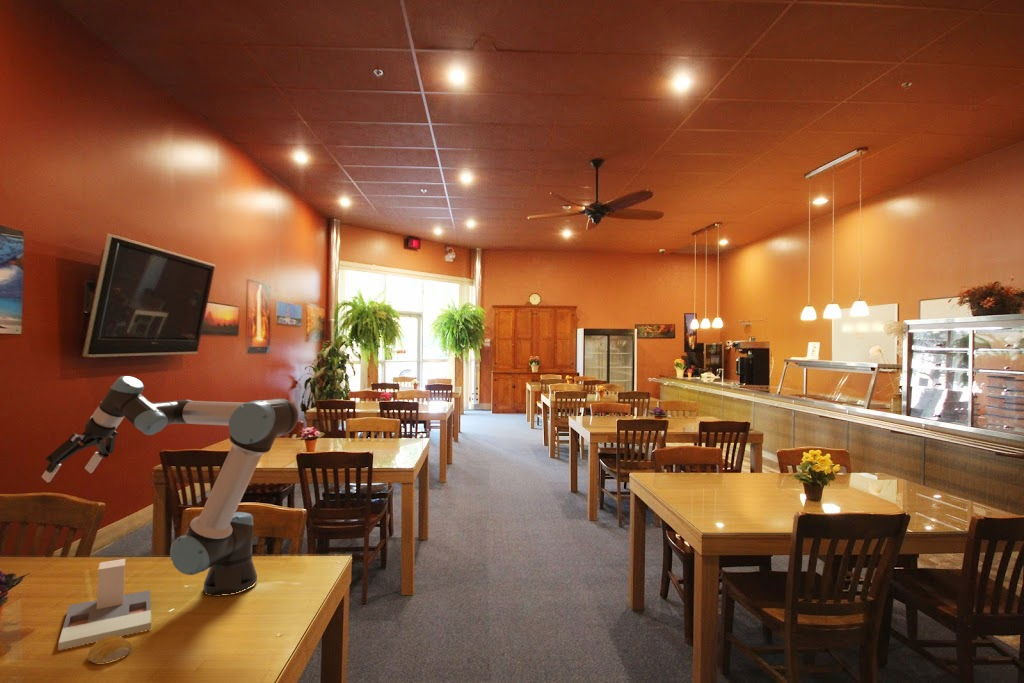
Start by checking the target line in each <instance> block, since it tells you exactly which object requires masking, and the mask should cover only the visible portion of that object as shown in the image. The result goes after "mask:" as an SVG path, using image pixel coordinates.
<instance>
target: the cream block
mask: <svg viewBox="0 0 1024 683" xmlns="http://www.w3.org/2000/svg"><path fill="white" fill-rule="evenodd" d="M97 570H98V572H97V573H98V574H97V577H98V578H97V592H96V593H97V595H96V600H97V609H100V608H105V607H110V606H116V605H121V604H123V598H124V595H125V574H126V573H125V572H126V558H121V559H116V560H115V559H114V560H109V561H102V562H99V565H98V569H97Z"/></svg>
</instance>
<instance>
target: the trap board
mask: <svg viewBox="0 0 1024 683" xmlns="http://www.w3.org/2000/svg"><path fill="white" fill-rule="evenodd" d="M151 604H152V602H151V590H150V589H149V590H143V591H138V592H133V593H127V594H124V598H123V604H121V605H116V606H110V607H105V608H100V609H97V599H96V600H90V601H86V602H85V601H84V602H81V603H74V604H69V605H68V608H67V613H66V615H65V616H66V617H65V620H64V622H63V626H62V629H63V628H67V627H72V626H76V625H81V624H86V623H91V622H96V621H100V620H105V619H110V618H115V617H120V616H125V615H129V614H134V613H139V612H144V611H149V610H151V611H152V605H151Z"/></svg>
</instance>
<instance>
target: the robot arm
mask: <svg viewBox="0 0 1024 683" xmlns="http://www.w3.org/2000/svg"><path fill="white" fill-rule="evenodd" d="M144 388H145V385H144V383H143V382H142V381H141V380H140V379H138V378H136V377H134V376H130V375H129V376H128V375H126V376H125V375H123V376H120V377H118V378H117V379H116V380H115V382H114V383H113V385H110V388H109V389H108V391H107V392H106V394H105V395H104V398H103V399H102V400H101V401H100V404H99V405H98V406H97V407H96V409H95V411H94V412H93V413H92V415H91V416H90V417H89V419H88V420H87V422H85V424H84V431H83V432H82V433H81V434H77V433H72V434H71V435H70V436H69V438H68V439H67V440H66V441H64V442H63V443H62V444H61V445H60V446H58V447H57V448H56V449H55V450H54V451H52V452H51V453H50V454H49V455H48V456H46V457H45V460H46V461H47V462H48V463H49V464H48V465H47V467H46V468H45V471H44V473H43V474H42V475H41V478H42V479H43V480H44V481H45V482H46V483H50V482H51V481H52V480H53V478H54V477H55V476H56V473H58V471H59V469H60V468H61V467H62V463H63V462H64V461H66V460H68V459H69V458H70V457H72V456H73V455H75V454H77V452H79V451H83V450H85V449H86V448H89V447H96V448H97V451H95V452H94V454H93V455H92V456H91V458H90V459H89V460H88V462H87V464H86V465H85V467H84V470H86V471H87V472H88V473H89V474H92V473H93V472H94V471H95V469H96V468H97V467H98V465H99V464H100V463H101V462H102V460H103V458H108V457H109V456H110V454H113V453H114V450H115V444H116V443H115V442H116V438H117V436H118V434H119V432H117V431H116V429H117V428H118V426H119V425H120V424H121V423H122V421H123V420H124V418H126V419H127V420H128V421H129V422H130V423H131V424H132V425H133V426H134V427H135V429H137V430H139V431H140V432H142V433H143V434H144V435H147V436H152V435H155V434H156V433H159V432H162V430H163V429H165V427H166V426H169V425H173V424H182V425H183V424H184V425H186V424H187V425H188V424H189V425H190V424H193V425H208V426H209V425H210V426H211V425H212V426H228V428H229V434H230V435H229V437H228V439H229V441H230V443H231V447H230V449H229V451H228V453H227V455H226V458H225V460H224V462H223V464H222V466H221V469H220V471H219V473H218V475H217V477H216V480H215V482H214V484H213V486H212V489H211V490H210V494H209V495H208V498H206V499H207V500H206V502H205V504H204V507H203V508H202V510H201V513H200V515H197V516H196V517H194V518H193V519H192V520H191V521H190V523H189V525H188V527H187V529H186V532H185V534H183V535H180V536H178V537H177V538H176V539H175V540H174V541H173V542H172V543H171V546H170V550H169V554H170V555H169V557H170V560H171V561H172V564H173V566H174V568H175V569H176V570H177V571H179V572H180V573H182V574H183V575H187V576H193V575H194V576H195V575H197V574H200V573H202V572H205V571H206V570H208V572H207V574H206V576H205V579H204V582H203V592H205V593H204V594H206V593H207V594H206V595H208V594H211V595H222V594H231V593H236V592H239V591H242V590H244V589H247V588H248V587H250V586H252V585H253V584H254V583H255V582H256V581H257V582H258V573H257V570H256V568H255V565H254V561H253V540H254V539H253V538H254V537H253V536H254V526H255V525H254V517H253V514H252V513H249V512H244V511H237V509H238V507H239V505H240V504H241V501H242V499H243V497H244V494H245V492H246V491H247V488H248V486H249V483H250V482H251V479H252V478H253V475H254V473H255V471H256V469H257V466H258V464H259V463H260V459H261V458H262V455H264V454H267V453H269V452H270V451H271V448H272V446H273V445H274V443H275V440H276V438H278V437H282V436H285V435H287V434H290V433H291V432H292V431H293V430H294V429H295V428H296V427H297V424H298V421H299V411H298V409H297V406H295V404H294V402H292V401H290V400H288V399H286V398H272V399H264V400H258V399H257V400H256V399H255V400H251V401H248V402H243V401H242V402H238V401H237V402H236V401H205V400H191V399H178V400H170V401H155V402H151V401H150V400H149V399H147V397H145V396H144V395H143V394H142V393H143V392H144V390H145V389H144ZM80 443H81V444H80ZM211 595H210V596H211Z"/></svg>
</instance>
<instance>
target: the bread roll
mask: <svg viewBox="0 0 1024 683" xmlns="http://www.w3.org/2000/svg"><path fill="white" fill-rule="evenodd" d="M132 648H133V645H132V642H131V641H129V640H126V639H125V637H124V636H123V637H120V636H110V637H106V638H104V639H101V640H100V641H98V642H96V643H93V644H92V646H91V648H90V649H89V651H88V653H87V660H88V662H90V661H91V663H92V662H93V663H106V662H110V661H112V660H116V659H118V658H121V657H123V656H125V657H127V656H128V654H129V653H130V652H131V650H132ZM126 655H127V656H126ZM93 663H92V664H93Z"/></svg>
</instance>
